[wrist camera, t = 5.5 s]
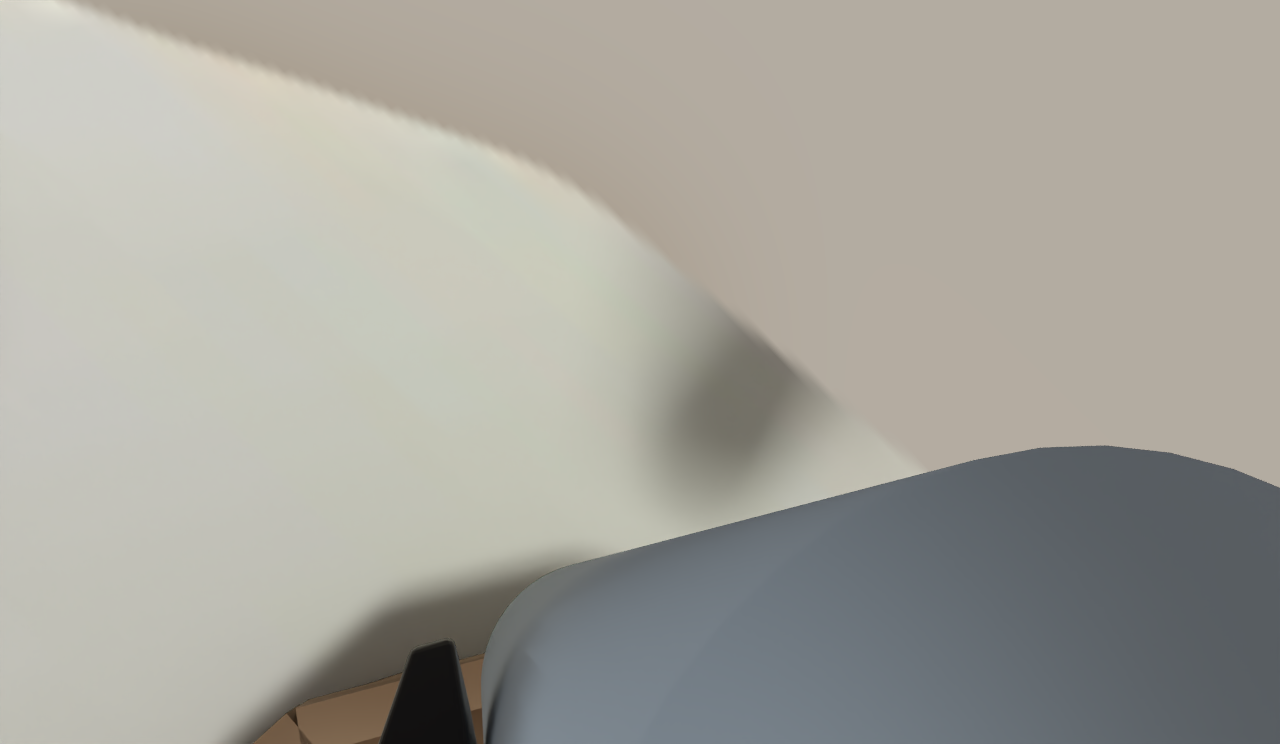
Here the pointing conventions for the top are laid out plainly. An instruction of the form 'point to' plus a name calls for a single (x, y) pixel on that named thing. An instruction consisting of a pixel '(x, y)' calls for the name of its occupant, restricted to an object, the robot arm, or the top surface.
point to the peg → (922, 617)
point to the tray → (361, 712)
